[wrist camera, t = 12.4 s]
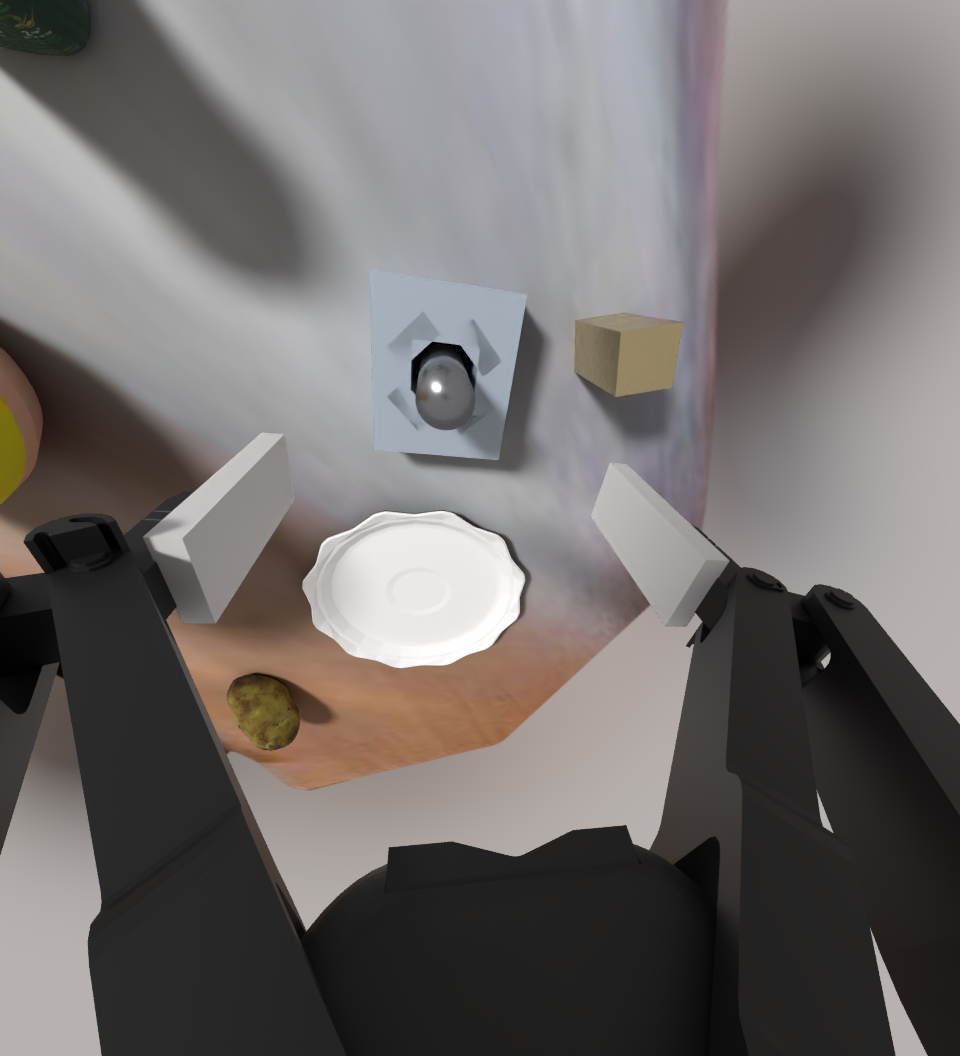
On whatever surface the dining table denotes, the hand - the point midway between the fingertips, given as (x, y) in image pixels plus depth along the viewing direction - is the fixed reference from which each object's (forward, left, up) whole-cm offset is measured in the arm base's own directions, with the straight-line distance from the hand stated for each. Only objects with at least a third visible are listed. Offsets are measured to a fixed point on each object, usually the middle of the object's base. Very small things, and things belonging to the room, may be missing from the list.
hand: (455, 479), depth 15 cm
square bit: (-4, +15, -25) cm, 29 cm away
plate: (+30, -1, -25) cm, 39 cm away
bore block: (0, 0, -24) cm, 25 cm away
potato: (+53, -24, -25) cm, 63 cm away
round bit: (0, 0, -24) cm, 25 cm away
